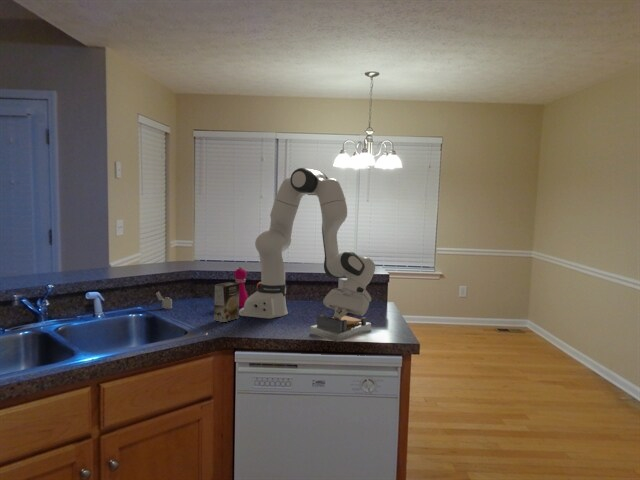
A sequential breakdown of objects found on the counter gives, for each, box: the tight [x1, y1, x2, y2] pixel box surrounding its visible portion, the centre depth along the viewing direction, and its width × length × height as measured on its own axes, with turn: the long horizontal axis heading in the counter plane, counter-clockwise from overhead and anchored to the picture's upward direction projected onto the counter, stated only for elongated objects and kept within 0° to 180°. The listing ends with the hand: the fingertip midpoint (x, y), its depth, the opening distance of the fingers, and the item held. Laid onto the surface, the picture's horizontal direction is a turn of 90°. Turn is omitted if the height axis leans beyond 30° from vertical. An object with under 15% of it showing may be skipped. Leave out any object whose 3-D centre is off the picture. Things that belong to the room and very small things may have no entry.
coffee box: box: [213, 281, 240, 323], centre depth 191 cm, size 9×6×16 cm
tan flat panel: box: [332, 314, 362, 325], centre depth 180 cm, size 15×9×1 cm, turn 139°
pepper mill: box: [234, 265, 249, 308], centre depth 216 cm, size 7×7×20 cm
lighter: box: [155, 291, 173, 310], centre depth 207 cm, size 7×2×8 cm, turn 95°
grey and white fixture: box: [309, 313, 372, 343], centre depth 179 cm, size 22×14×7 cm, turn 138°
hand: (336, 318), depth 176 cm, fingers closed
